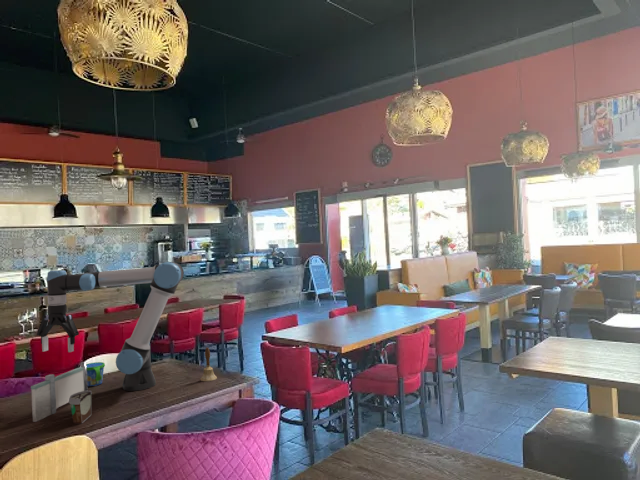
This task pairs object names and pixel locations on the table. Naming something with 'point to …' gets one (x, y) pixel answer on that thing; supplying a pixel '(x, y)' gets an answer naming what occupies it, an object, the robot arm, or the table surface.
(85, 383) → the fence
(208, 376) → the hand bell
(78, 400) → the food container
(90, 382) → the snack cup
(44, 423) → the table surface
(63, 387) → the gate
